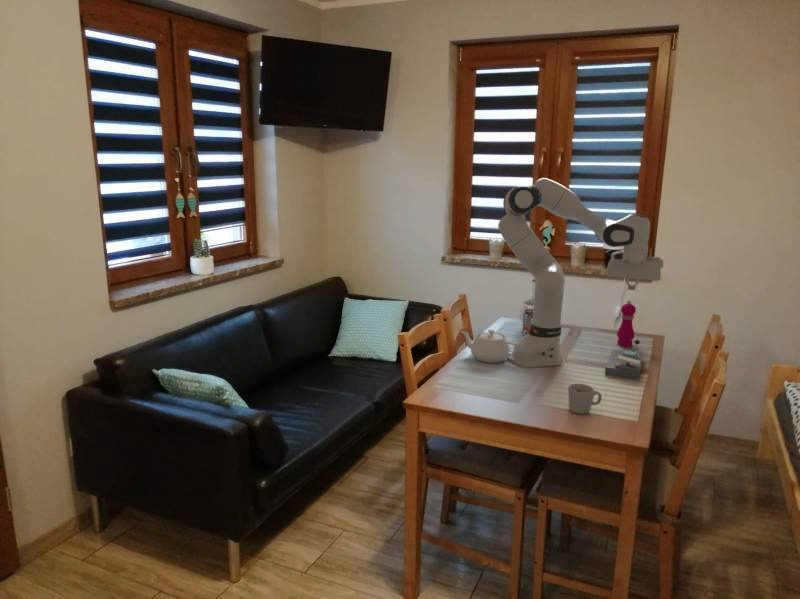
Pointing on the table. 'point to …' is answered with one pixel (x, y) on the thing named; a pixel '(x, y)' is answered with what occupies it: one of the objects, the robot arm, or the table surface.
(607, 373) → the control panel
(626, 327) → the pepper mill
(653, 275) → the robot arm
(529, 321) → the french press
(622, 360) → the rocker switch
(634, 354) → the push button
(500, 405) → the table surface
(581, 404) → the cup
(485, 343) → the teapot
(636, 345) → the toggle lever
